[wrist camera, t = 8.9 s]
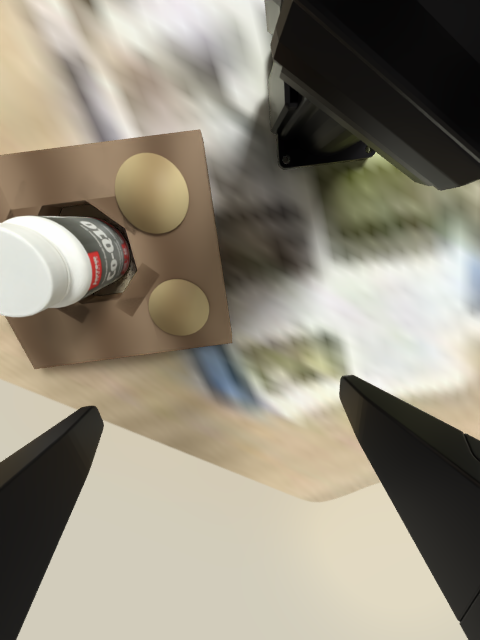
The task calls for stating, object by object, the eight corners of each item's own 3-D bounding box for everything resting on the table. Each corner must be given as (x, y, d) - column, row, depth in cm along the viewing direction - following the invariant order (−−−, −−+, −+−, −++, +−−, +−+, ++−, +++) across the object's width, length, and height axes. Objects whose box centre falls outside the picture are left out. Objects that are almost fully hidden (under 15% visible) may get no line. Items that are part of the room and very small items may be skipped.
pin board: (203, 140, 15) (199, 128, 13) (231, 332, 21) (232, 344, 19) (-43, 171, 15) (-83, 164, 13) (51, 355, 21) (32, 370, 19)
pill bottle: (142, 272, 19) (83, 311, 11) (86, 289, 19) (-10, 337, 11) (113, 207, 17) (17, 199, 9) (51, 227, 17) (-93, 234, 9)
